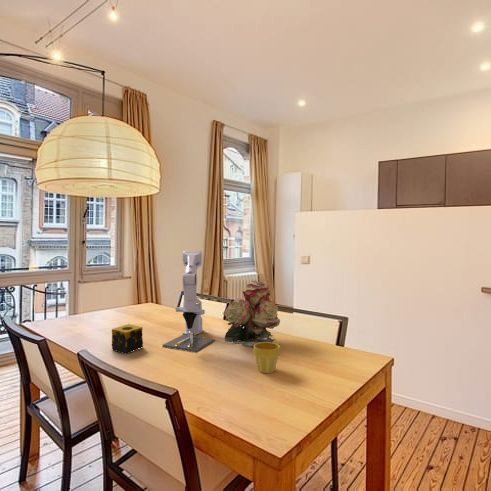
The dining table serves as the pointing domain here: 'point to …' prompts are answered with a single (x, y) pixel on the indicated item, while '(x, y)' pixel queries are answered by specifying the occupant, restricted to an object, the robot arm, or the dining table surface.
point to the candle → (127, 338)
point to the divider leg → (191, 336)
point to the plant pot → (266, 356)
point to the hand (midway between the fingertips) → (189, 328)
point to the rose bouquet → (251, 316)
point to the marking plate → (185, 344)
